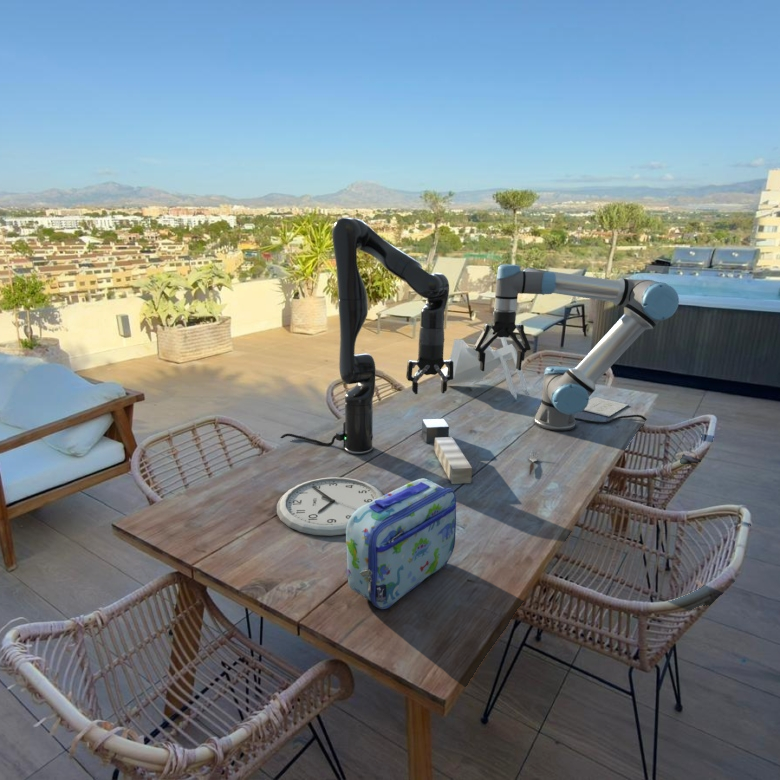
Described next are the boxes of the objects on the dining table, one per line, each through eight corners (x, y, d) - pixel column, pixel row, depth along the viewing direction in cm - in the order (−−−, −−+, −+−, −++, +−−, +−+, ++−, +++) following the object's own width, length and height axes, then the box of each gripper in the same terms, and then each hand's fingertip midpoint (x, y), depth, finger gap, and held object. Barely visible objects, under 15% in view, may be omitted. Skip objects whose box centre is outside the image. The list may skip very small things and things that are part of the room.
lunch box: (375, 622, 100) (376, 527, 94) (339, 595, 108) (338, 505, 101) (459, 565, 118) (465, 481, 112) (424, 545, 125) (427, 465, 119)
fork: (525, 475, 162) (525, 469, 161) (530, 455, 176) (531, 449, 176) (534, 476, 161) (534, 470, 161) (538, 456, 175) (539, 450, 175)
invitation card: (608, 416, 214) (573, 407, 224) (608, 416, 214) (573, 408, 224) (628, 404, 229) (594, 396, 238) (628, 405, 229) (594, 397, 238)
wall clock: (392, 527, 129) (268, 531, 127) (391, 533, 130) (269, 537, 127) (383, 473, 158) (282, 475, 155) (383, 478, 158) (282, 480, 156)
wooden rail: (434, 451, 179) (434, 437, 177) (451, 450, 179) (452, 436, 178) (451, 484, 156) (452, 468, 154) (471, 483, 157) (472, 467, 155)
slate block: (421, 434, 193) (422, 419, 191) (443, 433, 194) (443, 418, 192) (426, 443, 185) (426, 427, 183) (448, 442, 186) (449, 426, 184)
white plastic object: (461, 429, 252) (437, 405, 227) (444, 352, 274) (420, 323, 250) (535, 404, 240) (518, 377, 215) (510, 326, 262) (492, 293, 237)
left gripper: (451, 338, 161) (448, 388, 166) (405, 339, 159) (404, 390, 164) (457, 344, 154) (454, 396, 159) (410, 344, 152) (408, 397, 157)
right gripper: (535, 308, 186) (529, 366, 192) (467, 309, 183) (463, 367, 189) (543, 312, 179) (537, 371, 185) (473, 312, 175) (469, 373, 182)
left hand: (429, 393), depth 161 cm, fingers open, 8 cm apart
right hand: (500, 369), depth 187 cm, fingers open, 13 cm apart
